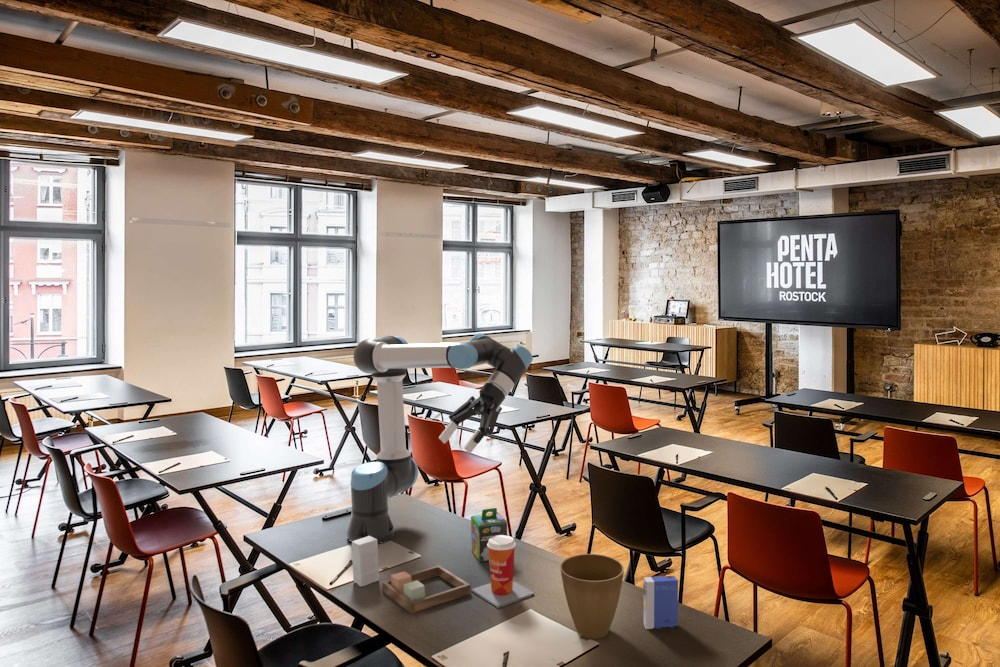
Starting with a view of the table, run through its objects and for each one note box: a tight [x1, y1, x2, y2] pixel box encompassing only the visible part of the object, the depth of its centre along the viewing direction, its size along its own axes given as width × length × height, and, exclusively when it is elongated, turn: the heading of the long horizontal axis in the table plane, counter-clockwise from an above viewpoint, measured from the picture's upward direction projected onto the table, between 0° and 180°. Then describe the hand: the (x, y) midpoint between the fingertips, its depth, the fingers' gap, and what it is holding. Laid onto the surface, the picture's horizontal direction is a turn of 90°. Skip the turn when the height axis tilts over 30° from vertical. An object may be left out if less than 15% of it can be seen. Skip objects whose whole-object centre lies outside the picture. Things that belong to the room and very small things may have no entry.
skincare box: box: [351, 536, 380, 588], centre depth 193 cm, size 6×4×12 cm
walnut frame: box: [381, 564, 471, 615], centre depth 186 cm, size 16×18×2 cm
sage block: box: [404, 580, 426, 602], centre depth 180 cm, size 4×4×5 cm
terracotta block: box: [390, 570, 412, 595], centre depth 186 cm, size 4×4×5 cm
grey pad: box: [470, 580, 535, 609], centre depth 185 cm, size 12×12×1 cm
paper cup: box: [487, 535, 517, 595], centre depth 185 cm, size 8×8×14 cm
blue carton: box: [642, 574, 679, 630], centre depth 167 cm, size 8×3×12 cm, turn 96°
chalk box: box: [470, 507, 508, 563], centre depth 210 cm, size 9×9×15 cm
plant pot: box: [559, 553, 625, 640], centre depth 164 cm, size 15×15×16 cm
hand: (453, 445), depth 201 cm, fingers open, 13 cm apart
